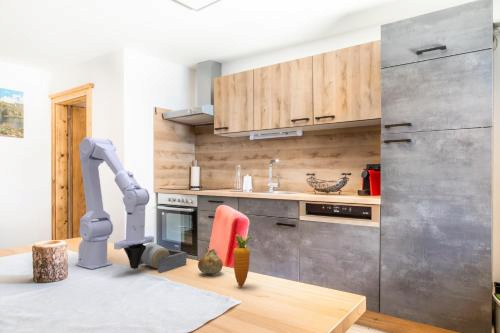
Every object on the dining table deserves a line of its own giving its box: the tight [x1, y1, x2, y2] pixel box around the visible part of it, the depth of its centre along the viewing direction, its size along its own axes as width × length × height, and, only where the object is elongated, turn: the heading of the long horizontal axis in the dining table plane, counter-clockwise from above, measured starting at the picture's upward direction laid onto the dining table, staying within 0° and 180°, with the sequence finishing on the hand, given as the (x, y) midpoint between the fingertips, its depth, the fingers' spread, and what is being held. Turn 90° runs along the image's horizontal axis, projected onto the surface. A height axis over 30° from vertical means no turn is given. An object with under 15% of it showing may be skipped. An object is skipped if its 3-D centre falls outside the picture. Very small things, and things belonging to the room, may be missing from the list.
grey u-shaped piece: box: [139, 248, 188, 274], centre depth 117 cm, size 14×12×4 cm
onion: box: [197, 248, 224, 276], centre depth 108 cm, size 8×8×8 cm
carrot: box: [233, 234, 251, 288], centre depth 96 cm, size 5×5×15 cm
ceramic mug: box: [141, 242, 170, 270], centre depth 117 cm, size 11×8×8 cm
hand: (134, 268), depth 108 cm, fingers closed
